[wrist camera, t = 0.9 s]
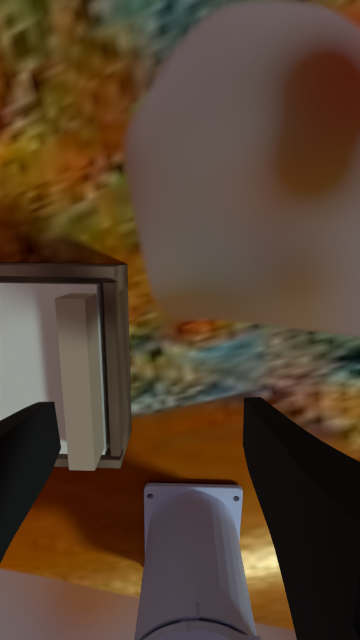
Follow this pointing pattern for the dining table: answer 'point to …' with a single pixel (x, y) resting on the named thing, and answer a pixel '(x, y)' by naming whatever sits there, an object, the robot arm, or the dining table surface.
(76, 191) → the dining table surface
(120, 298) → the walnut box
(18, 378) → the cover plate
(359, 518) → the robot arm
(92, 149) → the dining table surface
